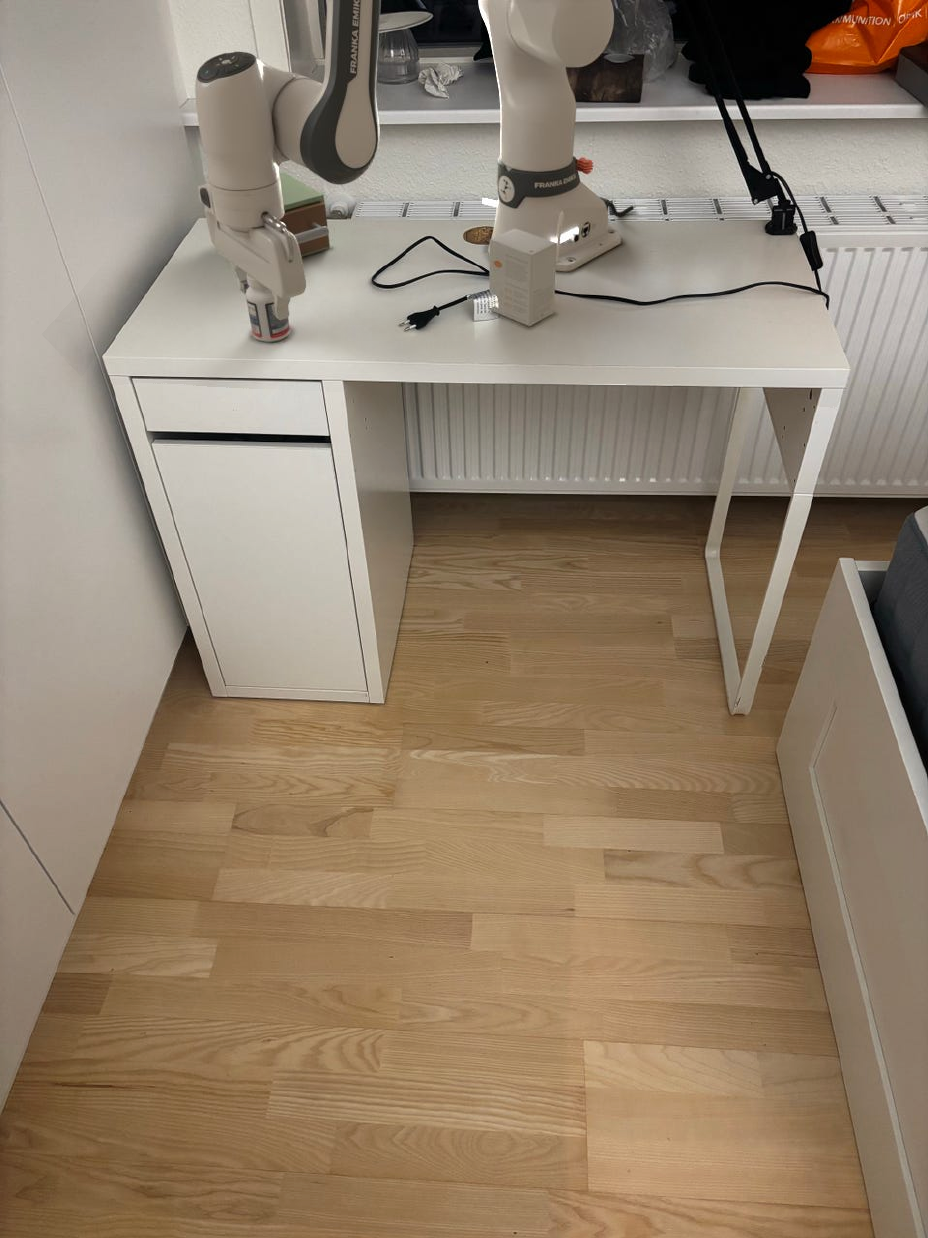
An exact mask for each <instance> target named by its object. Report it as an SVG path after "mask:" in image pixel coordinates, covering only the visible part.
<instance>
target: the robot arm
mask: <svg viewBox="0 0 928 1238" xmlns="http://www.w3.org/2000/svg"><path fill="white" fill-rule="evenodd" d="M381 1H382V0H325V3H326V26H325V27H326V28H325V50H324V51H325V53H324V57H325V58H324V77H323V82H319V81H318V80H315V79H313V78H310V77H308V76H305V75H301V74H299V73H296V72H290V71H285V70H282V69H279V68H276V67H274V66H272V65H269V64H267V63H266V62H263V61H261V60H260V59H258V57H256V55H254V54H252V53H251V52H247V51H233V52H224V53H220V54H218V55H214V56H213V57H211V58H208V59H207V60H206V61H205V62H204V63H203V64H202V65H201V66H200V67H199V68H198V70H197V73H196V75H195V76H196V78H195V88H194V91H195V95H194V96H195V106H196V115H197V123H198V128H199V134H200V139H201V145H202V148H203V149H204V151H205V154H206V156H207V159H208V174H207V175H208V176H207V177H208V182H207V183H204V184H200V185H198V186H197V194H198V199H199V201H200V203H201V204H202V205H204V206H203V209H204V215H205V220H206V224H207V227H208V233H209V235H210V240H211V242H212V244H213V246H214V249H215V251H216V252H217V253H218V254H220V255H222V256H223V257H224V258H226V259H227V260H228V261H229V262H230V265H231V268H232V270H233V272H234V274H235V277H236V279H237V282H238V287H239V291H240V292H241V293H243V294H244V295H246V291H247V289H248V288H249V287H250V286H249V285H248V283H247V276H246V274H247V273H248V274H249V275H250V276H252V277H253V278H254V279H256V280H257V281H259V282H260V283H261V284H263V285H264V286H265V287H267V288H268V289H270V290H271V291H272V295H273V296H274V297H275V300H274V304H272V305H271V307H272V311H273V312H272V313H273V315H274V316H275V317H276V318H277V319H279V320H283V319H286V318H288V319H289V317H290V310H289V305H290V302H291V299H292V298H294V297H297V296H300V295H302V294H304V293H305V291H306V289H307V280H306V275H305V268H304V263H303V257H301V253H300V249H299V246H298V243H297V240H296V238H295V237H294V235H293V234H292V233H291V232H289V231H288V230H286V225H285V224H284V223H283V222H281V221H278V220H280V219H281V218H282V217H283V216H284V204H283V197H282V189H281V182H280V174H279V173H280V166H281V164H283V163H285V162H289V161H291V162H293V163H295V164H297V165H299V166H301V167H303V168H305V169H308V170H309V171H310V172H312V173H313V174H314V175H317V176H318V177H319V178H321V179H323V180H324V181H326V182H327V183H330V184H332V185H337V186H338V185H339V186H340V185H347V184H350V183H353V182H355V181H356V180H358V179H359V178H360V177H361V176H362V175H364V173H366V172H367V170H368V169H369V168H370V167H371V165H372V163H373V162H374V160H375V158H376V155H377V153H378V150H379V145H380V136H381V135H380V134H381V133H380V130H381V129H380V119H379V110H378V102H377V76H378V75H377V74H378V59H379V58H378V57H379V56H378V55H379V41H380V40H379V37H380V23H381V21H380V20H381ZM478 8H479V11H480V14H481V17H482V19H483V21H484V23H485V26H486V29H487V32H488V35H489V40H490V45H491V50H492V55H493V61H494V67H495V74H496V81H497V86H498V91H499V103H500V104H499V105H500V145H499V146H500V152H499V153H500V155H499V156H498V158H497V163H496V186H497V187H496V188H497V195H498V196H497V200H494V199H490V198H485V197H483V198H482V204H483V205H488V206H491V207H496V210H495V216H494V223H493V229H492V234H491V237H490V238H491V239H493V238H495V237H497V236H499V235H501V234H504V233H506V232H508V231H510V230H513V229H518V230H521V231H524V232H527V233H530V234H533V235H536V236H539V237H541V238H544V239H547V240H550V241H553V242H556V243H557V252H556V271H560V272H571V271H574V270H575V269H577V268H579V267H581V266H582V265H585V264H586V263H588V262H590V261H591V260H594V259H595V258H597V257H599V256H601V255H603V254H604V253H606V252H608V251H610V250H611V249H613V248H615V247H617V246H618V245H620V244H621V243H622V236H621V235H620V233H619V232H618V231H617V230H616V229H614V228H613V227H612V226H610V225H609V208H610V209H611V213H612V214H613V215H614V216H615V217H618V218H620V217H623V216H625V215H627V214H629V213H630V212H632V211H633V210H635V206H633V205H631V206H628V207H627V208H625V209H623V210H622V211H617V208H616V206H615V204H614V203H612V202H611V201H610V200H609V199H608V198H604V197H601V196H599V195H597V194H596V193H595V192H594V191H593V190H592V189H590V187H588V186H587V185H586V184H584V182H582V181H581V178H580V174H579V172H582V173H583V174H585V175H589V174H591V173H592V171H593V169H594V162H593V160H591V159H588V158H585V157H580V158H579V159H578V158H577V157H576V156H574V149H575V148H574V147H575V136H576V135H575V134H576V119H577V118H576V117H577V101H576V97H575V94H574V92H573V90H572V87H571V85H570V81H569V78H568V74H567V68H582V67H585V66H588V65H590V64H592V63H593V62H594V61H596V60H597V59H598V58H599V57H600V56H601V54H603V52H604V51H605V49H606V48H607V45H608V44H609V42H610V39H611V37H612V33H613V30H614V24H615V23H614V22H615V12H614V5H613V2H612V0H478ZM491 239H490V240H491ZM489 248H490V244H489V246H488V248H487V252H488V253H489V252H490V249H489Z"/></svg>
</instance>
